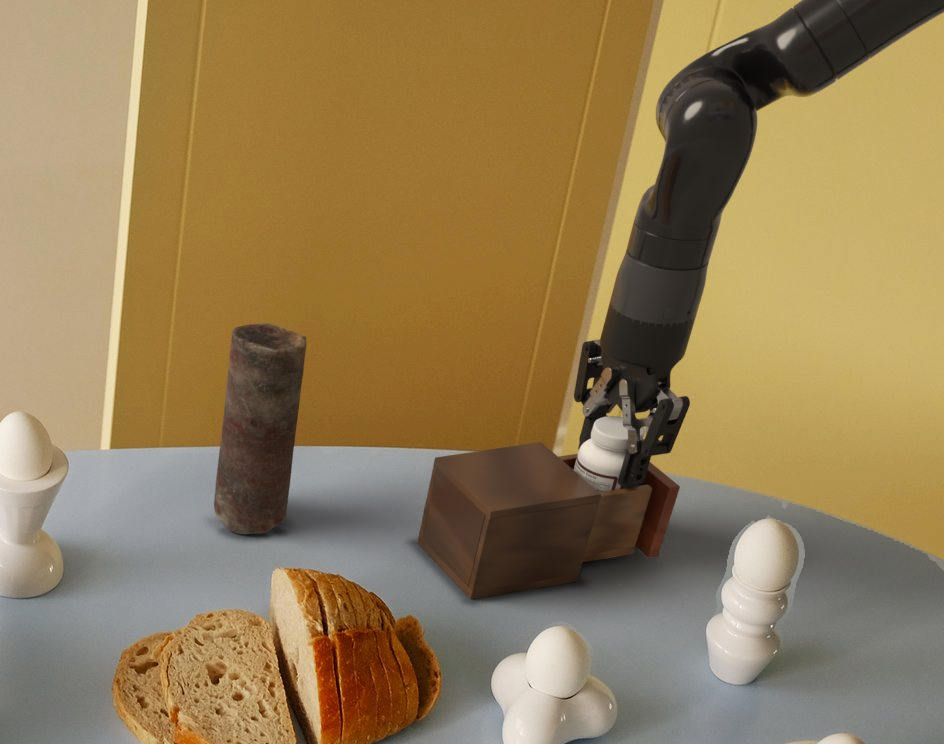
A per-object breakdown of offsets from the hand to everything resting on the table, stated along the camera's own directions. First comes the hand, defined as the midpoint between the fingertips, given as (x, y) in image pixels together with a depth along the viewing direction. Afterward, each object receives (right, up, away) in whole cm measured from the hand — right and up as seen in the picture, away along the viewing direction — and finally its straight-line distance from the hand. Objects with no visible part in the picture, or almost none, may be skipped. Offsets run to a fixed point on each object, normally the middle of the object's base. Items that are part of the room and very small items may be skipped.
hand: (608, 467), depth 169 cm
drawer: (0, -6, +5) cm, 8 cm away
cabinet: (-10, -9, +3) cm, 13 cm away
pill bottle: (0, -5, +4) cm, 7 cm away
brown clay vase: (-33, -3, +10) cm, 35 cm away
